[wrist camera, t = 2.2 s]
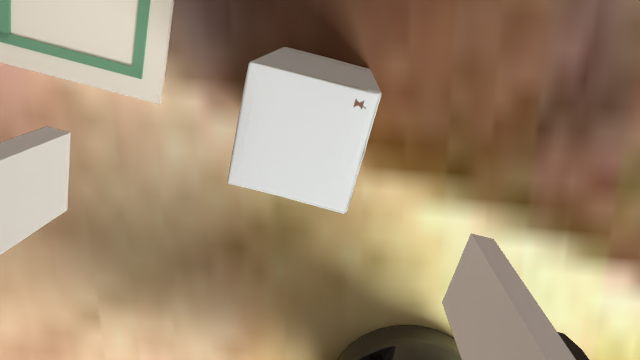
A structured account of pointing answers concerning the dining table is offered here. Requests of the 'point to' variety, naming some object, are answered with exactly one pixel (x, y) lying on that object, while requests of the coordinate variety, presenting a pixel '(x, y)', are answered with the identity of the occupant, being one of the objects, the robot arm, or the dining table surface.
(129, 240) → the dining table surface
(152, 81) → the marked card
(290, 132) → the supplement box
